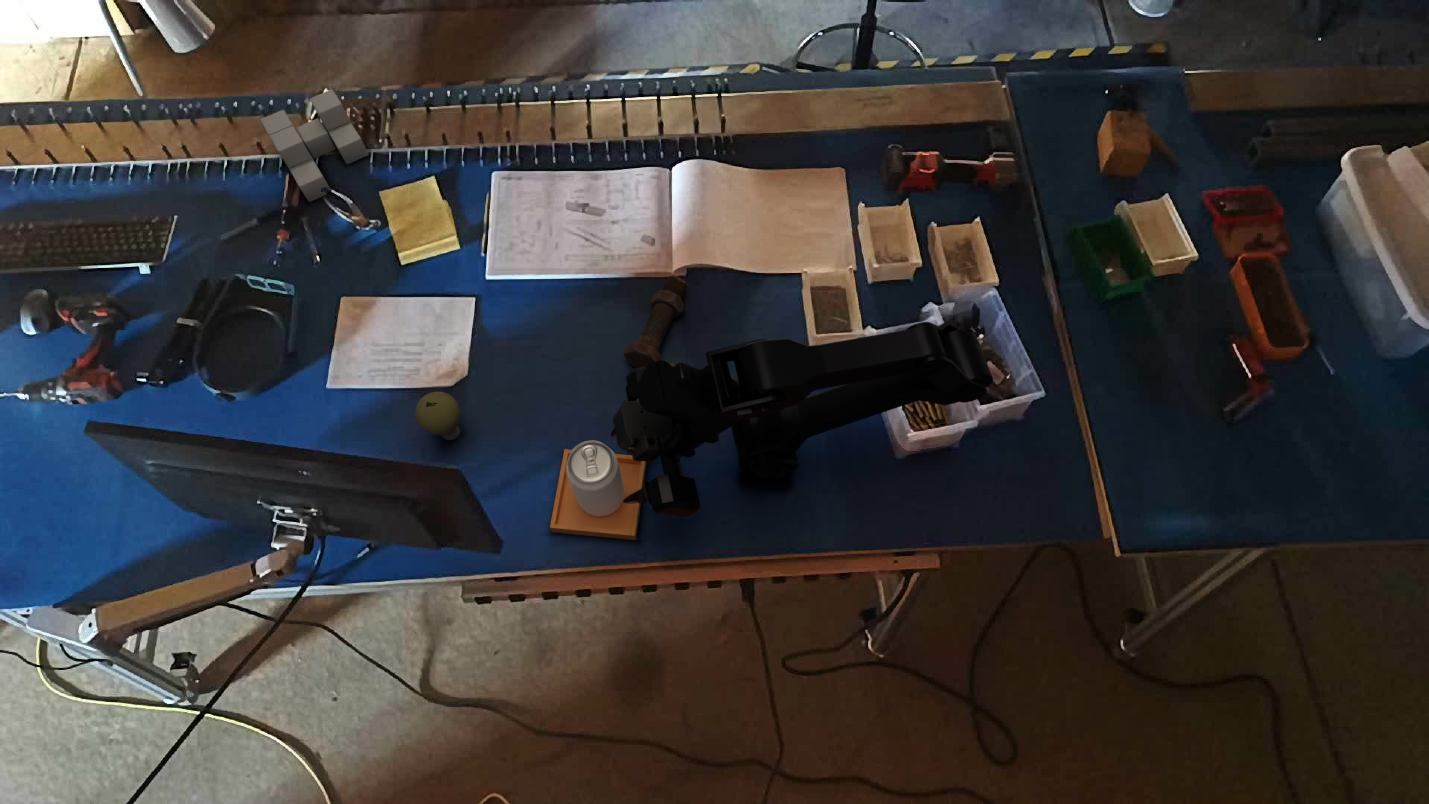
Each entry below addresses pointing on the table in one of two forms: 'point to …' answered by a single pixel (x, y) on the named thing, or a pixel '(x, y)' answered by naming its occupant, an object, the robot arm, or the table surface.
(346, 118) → the gray h shaped block
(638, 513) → the tray
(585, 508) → the can
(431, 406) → the light bulb
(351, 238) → the table surface
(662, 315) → the bolt
